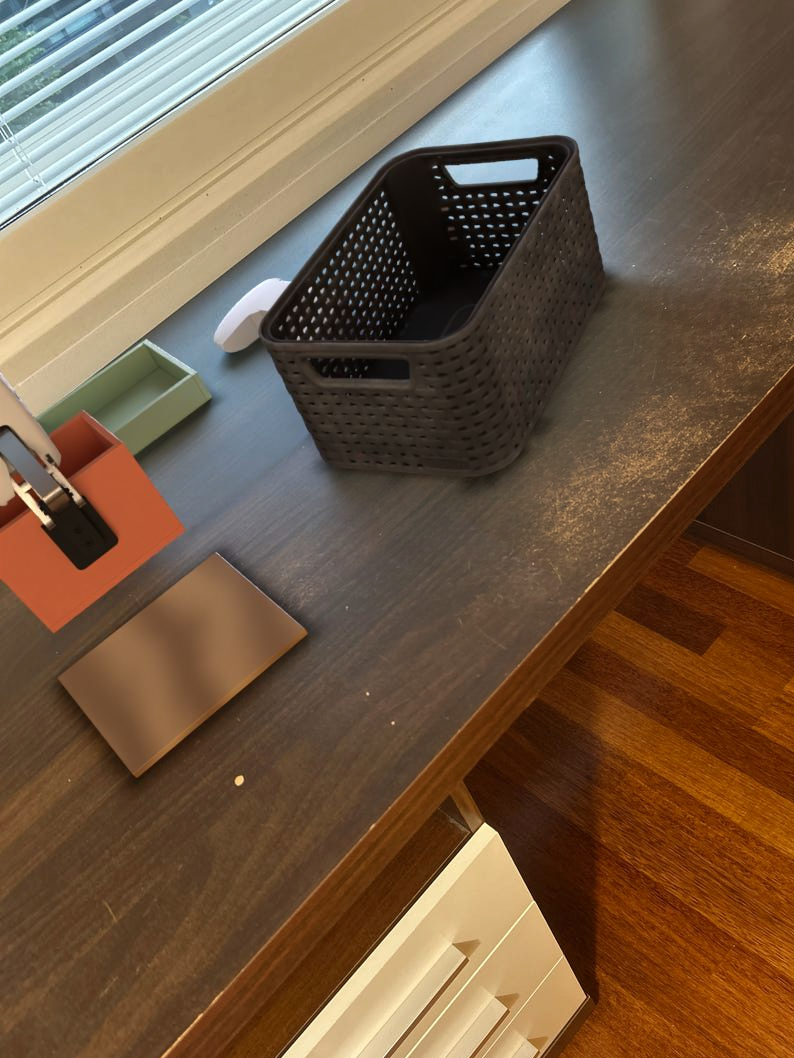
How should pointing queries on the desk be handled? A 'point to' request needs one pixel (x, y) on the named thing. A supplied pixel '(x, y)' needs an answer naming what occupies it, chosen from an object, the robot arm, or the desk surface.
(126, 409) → the green bin
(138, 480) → the coral bin
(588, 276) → the storage bin
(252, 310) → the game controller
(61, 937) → the desk surface
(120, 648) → the metal plate
